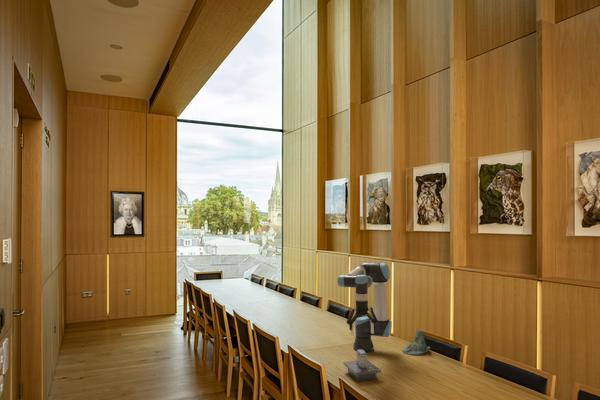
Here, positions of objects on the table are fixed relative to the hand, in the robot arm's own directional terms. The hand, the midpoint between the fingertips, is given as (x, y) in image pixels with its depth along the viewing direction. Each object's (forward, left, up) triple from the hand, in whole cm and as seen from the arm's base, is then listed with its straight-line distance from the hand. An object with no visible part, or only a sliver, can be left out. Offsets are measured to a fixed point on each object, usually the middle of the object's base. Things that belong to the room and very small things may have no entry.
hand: (362, 334), depth 261 cm
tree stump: (-32, +57, -25) cm, 70 cm away
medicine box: (+1, -1, -19) cm, 19 cm away
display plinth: (+1, -1, -25) cm, 25 cm away
